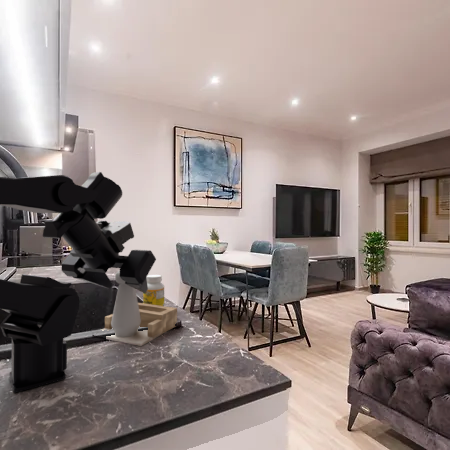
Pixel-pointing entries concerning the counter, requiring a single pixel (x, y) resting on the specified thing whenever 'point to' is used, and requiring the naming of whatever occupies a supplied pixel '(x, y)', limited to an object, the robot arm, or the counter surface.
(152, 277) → the supplement bottle
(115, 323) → the salt shaker
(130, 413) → the counter surface
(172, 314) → the dock
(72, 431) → the counter surface
